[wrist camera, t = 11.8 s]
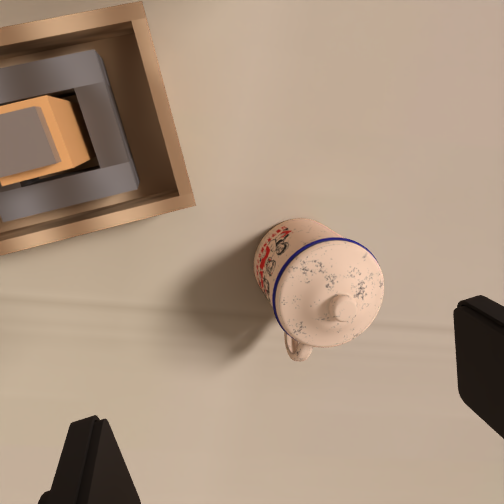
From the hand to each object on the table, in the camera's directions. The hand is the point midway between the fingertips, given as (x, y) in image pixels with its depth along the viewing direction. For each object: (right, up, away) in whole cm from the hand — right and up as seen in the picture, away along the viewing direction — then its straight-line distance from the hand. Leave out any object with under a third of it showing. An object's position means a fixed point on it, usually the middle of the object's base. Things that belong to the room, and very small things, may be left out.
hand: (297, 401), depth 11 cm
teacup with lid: (+3, +2, +31) cm, 31 cm away
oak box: (-16, +13, +23) cm, 31 cm away
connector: (-16, +13, +22) cm, 30 cm away
